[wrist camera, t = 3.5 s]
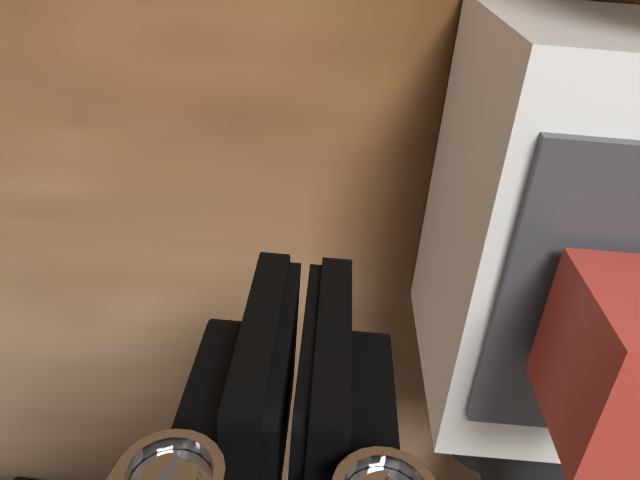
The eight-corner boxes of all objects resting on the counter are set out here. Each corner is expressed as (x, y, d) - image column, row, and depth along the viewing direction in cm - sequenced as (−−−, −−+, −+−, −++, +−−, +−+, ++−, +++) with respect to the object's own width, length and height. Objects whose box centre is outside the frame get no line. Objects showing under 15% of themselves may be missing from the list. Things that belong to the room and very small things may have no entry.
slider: (690, 258, 11) (794, 365, 9) (637, 377, 13) (711, 501, 10) (563, 247, 11) (627, 351, 9) (525, 367, 13) (570, 488, 10)
